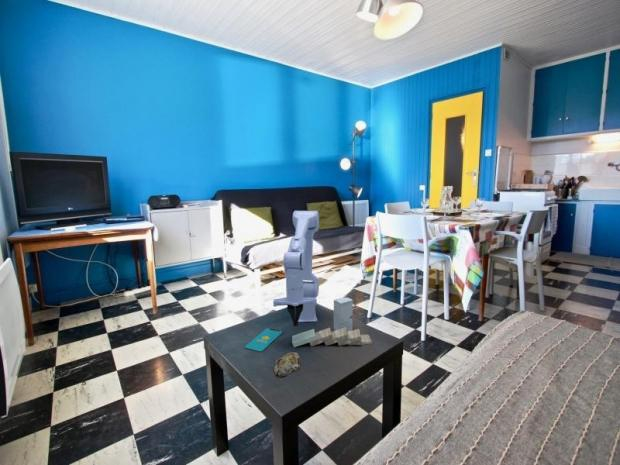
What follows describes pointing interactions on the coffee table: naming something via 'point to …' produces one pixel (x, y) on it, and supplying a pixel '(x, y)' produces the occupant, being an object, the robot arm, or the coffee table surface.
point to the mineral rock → (287, 364)
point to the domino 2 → (322, 336)
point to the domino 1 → (303, 338)
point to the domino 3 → (338, 336)
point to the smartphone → (263, 340)
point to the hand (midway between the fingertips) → (295, 324)
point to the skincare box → (343, 313)
